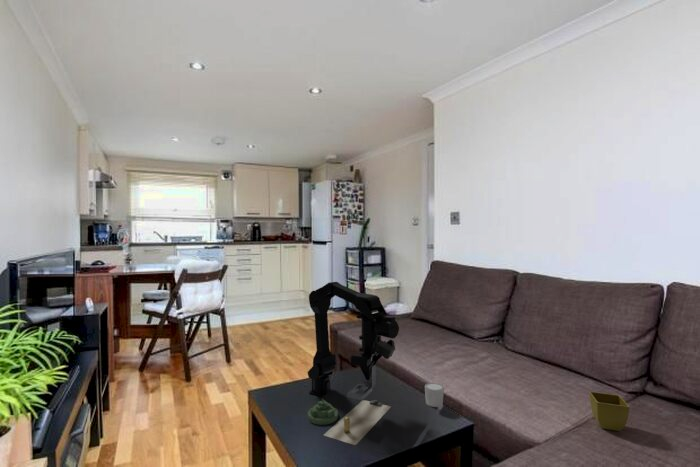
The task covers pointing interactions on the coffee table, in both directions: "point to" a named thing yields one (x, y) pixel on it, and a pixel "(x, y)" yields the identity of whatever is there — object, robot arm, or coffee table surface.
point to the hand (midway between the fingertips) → (369, 378)
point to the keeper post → (347, 425)
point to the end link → (364, 386)
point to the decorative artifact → (322, 413)
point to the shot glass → (434, 395)
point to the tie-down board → (358, 421)
